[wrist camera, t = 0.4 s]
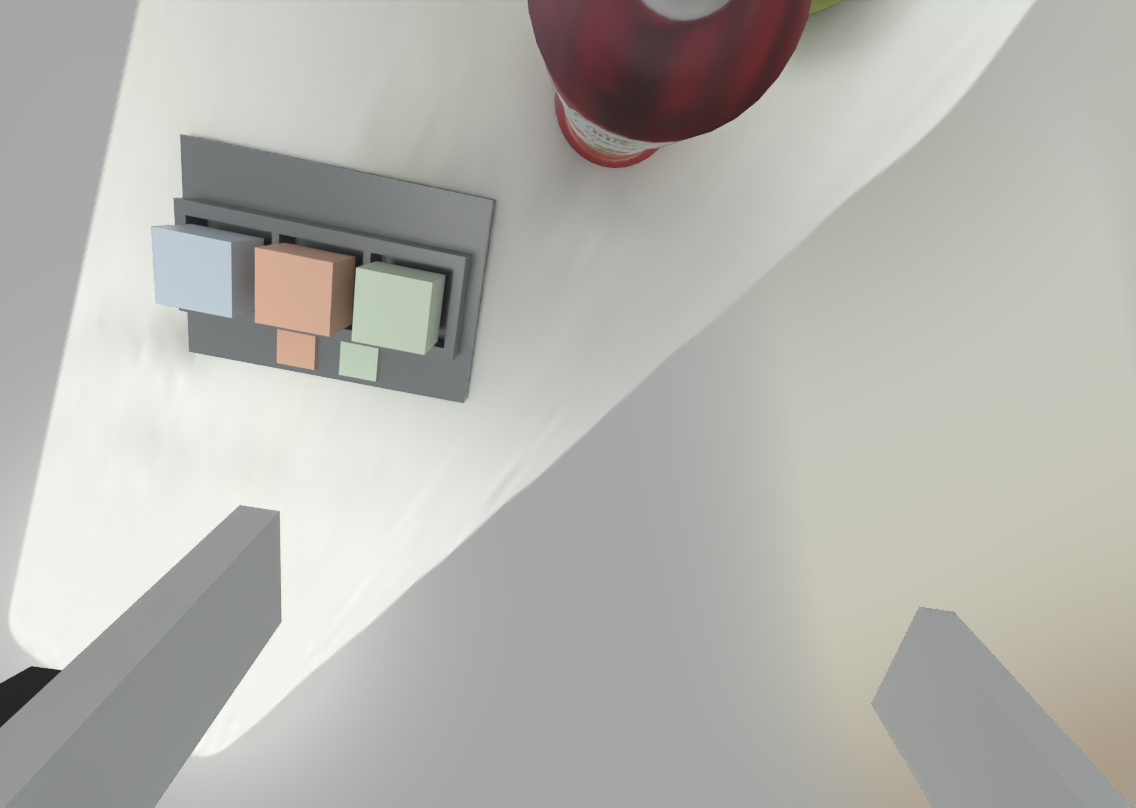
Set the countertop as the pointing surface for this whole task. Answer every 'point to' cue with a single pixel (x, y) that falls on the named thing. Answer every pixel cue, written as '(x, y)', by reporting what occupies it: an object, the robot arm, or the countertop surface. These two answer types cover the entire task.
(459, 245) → the keypad
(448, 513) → the countertop surface
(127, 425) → the countertop surface
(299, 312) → the key terracotta
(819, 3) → the plant pot
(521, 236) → the countertop surface
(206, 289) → the key bluegrey
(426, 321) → the key sage
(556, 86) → the liquor
